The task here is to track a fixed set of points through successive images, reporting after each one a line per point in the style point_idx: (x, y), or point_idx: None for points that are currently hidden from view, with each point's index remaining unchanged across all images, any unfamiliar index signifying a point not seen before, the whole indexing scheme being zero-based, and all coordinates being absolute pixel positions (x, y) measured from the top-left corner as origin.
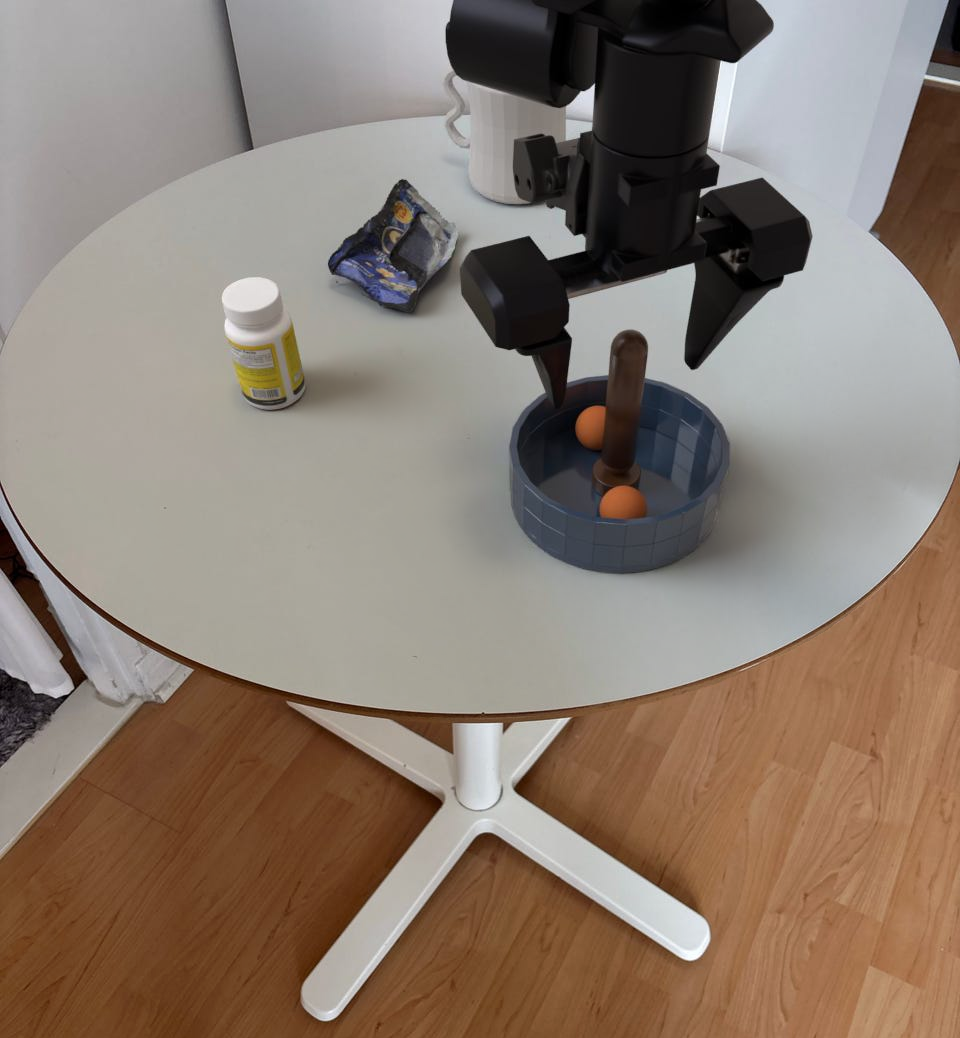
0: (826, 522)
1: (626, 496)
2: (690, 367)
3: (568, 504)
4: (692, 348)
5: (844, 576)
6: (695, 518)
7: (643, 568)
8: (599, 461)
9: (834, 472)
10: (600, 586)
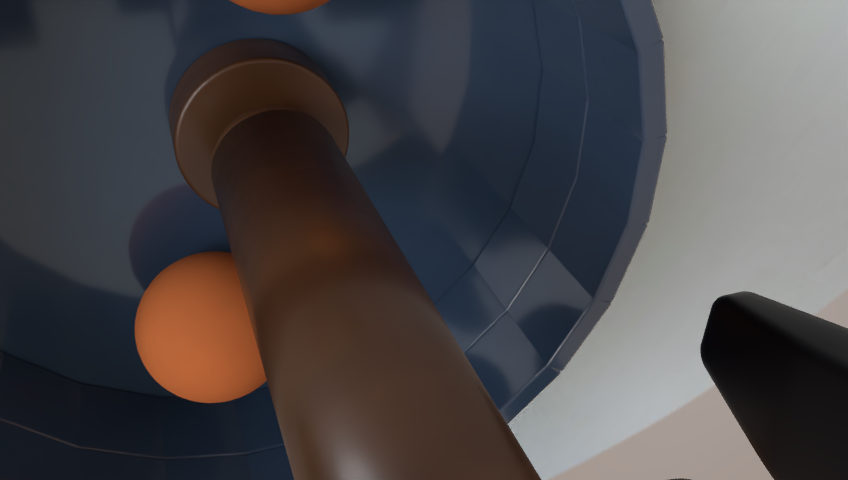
0: (653, 316)
1: (223, 387)
2: (706, 348)
3: (53, 168)
4: (782, 414)
5: (588, 432)
6: None
7: None
8: (218, 86)
9: (768, 192)
10: None
